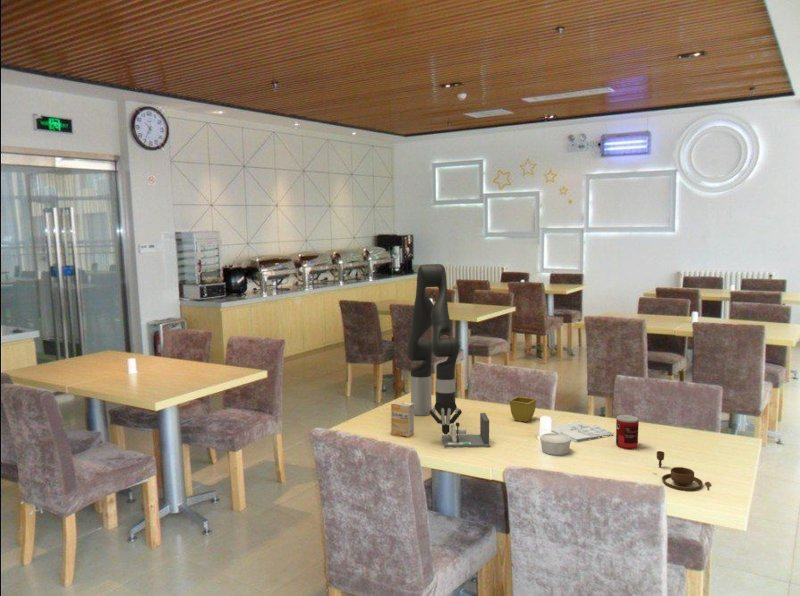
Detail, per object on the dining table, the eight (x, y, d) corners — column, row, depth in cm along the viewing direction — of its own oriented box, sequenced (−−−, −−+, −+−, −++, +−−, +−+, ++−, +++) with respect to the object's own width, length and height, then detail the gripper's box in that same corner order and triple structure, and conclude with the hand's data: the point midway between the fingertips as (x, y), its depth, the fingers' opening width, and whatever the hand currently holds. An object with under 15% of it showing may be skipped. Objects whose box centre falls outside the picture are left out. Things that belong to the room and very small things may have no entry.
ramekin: (563, 445, 245) (563, 431, 245) (576, 455, 234) (576, 441, 234) (535, 447, 243) (535, 433, 243) (546, 457, 232) (547, 443, 232)
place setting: (650, 488, 206) (651, 470, 205) (654, 466, 224) (654, 450, 223) (712, 496, 199) (712, 478, 198) (710, 473, 217) (710, 456, 216)
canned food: (621, 441, 249) (622, 413, 248) (641, 446, 243) (642, 417, 242) (611, 446, 243) (612, 417, 242) (632, 451, 238) (633, 422, 237)
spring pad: (450, 434, 254) (450, 422, 253) (464, 434, 254) (464, 422, 254) (453, 442, 244) (452, 430, 244) (467, 442, 244) (467, 429, 244)
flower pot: (518, 416, 284) (518, 396, 283) (536, 419, 278) (536, 398, 278) (508, 421, 276) (509, 400, 276) (527, 424, 271) (528, 403, 270)
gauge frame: (442, 437, 256) (441, 412, 254) (484, 436, 256) (484, 412, 255) (444, 447, 244) (444, 422, 243) (489, 447, 244) (489, 421, 243)
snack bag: (575, 444, 248) (576, 438, 248) (543, 429, 266) (543, 424, 266) (614, 437, 256) (614, 431, 255) (580, 423, 274) (580, 418, 274)
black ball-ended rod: (455, 441, 246) (455, 421, 245) (459, 441, 246) (459, 421, 245) (455, 442, 244) (455, 423, 243) (460, 442, 244) (459, 423, 243)
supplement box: (390, 435, 260) (390, 403, 258) (396, 431, 264) (395, 400, 262) (408, 437, 256) (408, 405, 254) (414, 434, 260) (414, 402, 259)
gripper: (461, 387, 251) (461, 430, 253) (427, 387, 251) (427, 430, 253) (463, 392, 244) (463, 436, 245) (428, 392, 244) (428, 437, 245)
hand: (445, 433), depth 249 cm, fingers closed
